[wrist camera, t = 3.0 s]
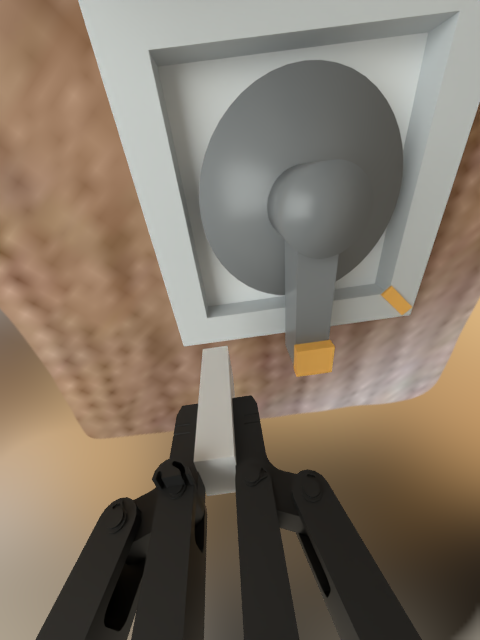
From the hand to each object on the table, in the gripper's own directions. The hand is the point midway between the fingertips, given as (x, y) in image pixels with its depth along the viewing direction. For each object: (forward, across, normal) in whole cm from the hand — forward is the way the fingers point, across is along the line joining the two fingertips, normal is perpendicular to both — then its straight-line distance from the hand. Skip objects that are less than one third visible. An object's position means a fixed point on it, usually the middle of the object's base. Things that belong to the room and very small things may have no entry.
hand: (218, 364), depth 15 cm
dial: (+7, +7, +6) cm, 11 cm away
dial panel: (+9, +7, +8) cm, 14 cm away
